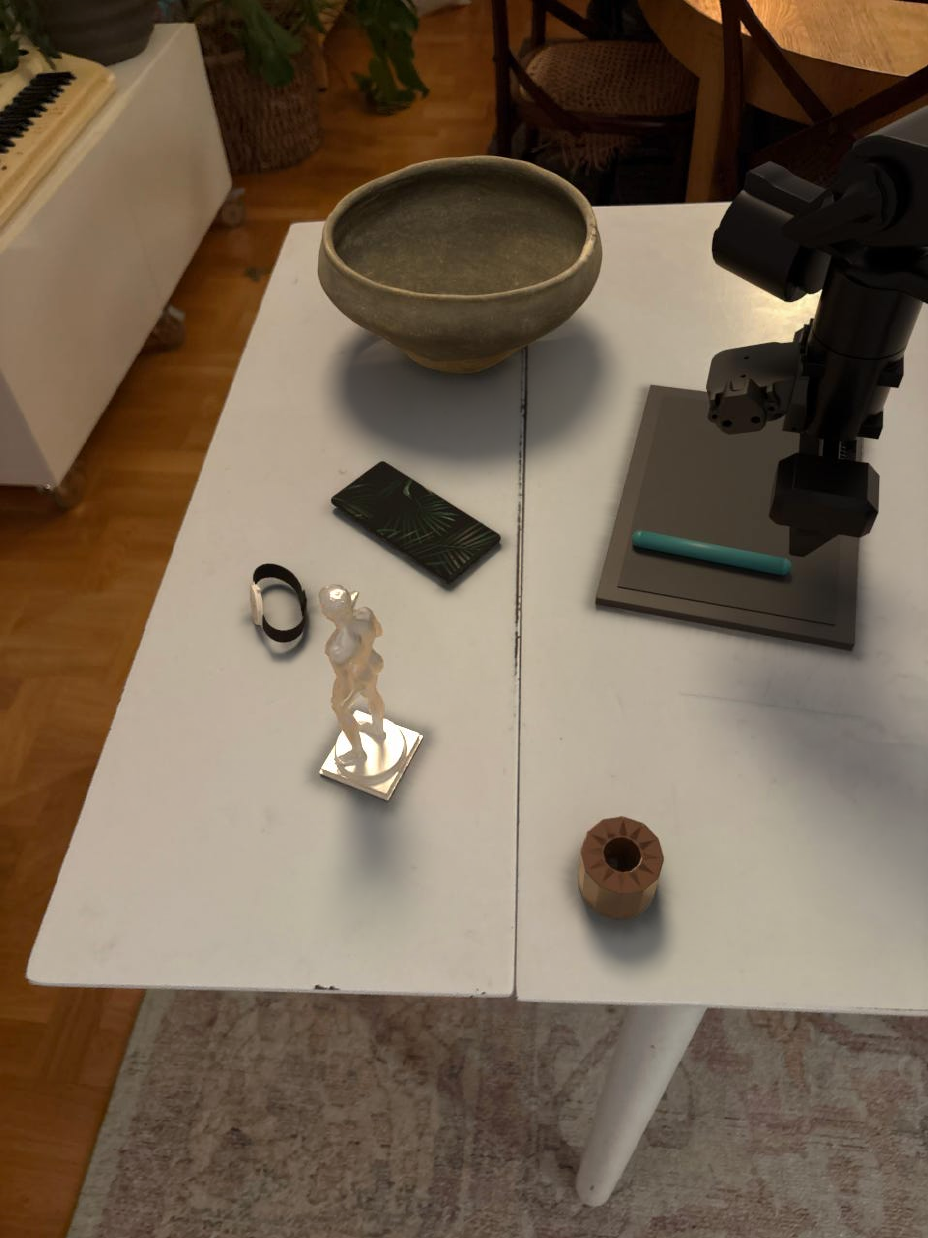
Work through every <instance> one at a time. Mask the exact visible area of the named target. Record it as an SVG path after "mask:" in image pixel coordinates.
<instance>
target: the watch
mask: <svg viewBox="0 0 928 1238" xmlns="http://www.w3.org/2000/svg"><path fill="white" fill-rule="evenodd" d="M270 578H271V579H277V580H280V581H282V582H284V583H286V584H288V586H289V587H290V588H292V589H293V591H294V592H295V594H296V596H297V598H298V602H299V605H300V612H301V616H302V619H301V620H300V622H299V623H298V624H297V625H296V626H294V627H292V628H289V629H283V630H282V629H279V628H276V627H274V626H272V625H270V624H269V623H268V621H267V620H266V617H265V614H264V604H263V599H262V597H263V596H262V593H261V588H260V587H259V585H258V583H259V582H260V581H262V580H263V579H270ZM249 601H250V603H249V604H250V610H251V615H252V618H253V623H254V624H255V625H257V626H258V625H259V626H260V627H261V629H262V630H263V632H264V633H265V635H266V636H267V637H268V638H269V639H270V640H272V641H274V642H276V643H281V644H286V643H291V642H293V641H295V640H296V639H298V638H299V637H300V636H301V635H302V633H303V632H304V630H305V627H306V620H307V619H306V618H307V609H308V608H307V607H308V597H307V594H306V590H305V589H303V588H302V585H301V582H300V581H299V579H298V578H297V576H296V575H295V574H294V572H292V571H291V570H290V569H288V568H287V567H285V566H282V565H280V564H278V563H271V562H270V563H268V562H267V563H262V564H260V565H259V566H257V567H256V568H255V569H254V571H253V574H252V585H250V586H249Z"/></svg>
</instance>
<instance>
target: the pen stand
mask: <svg viewBox="0 0 928 1238" xmlns="http://www.w3.org/2000/svg"><path fill="white" fill-rule="evenodd" d="M664 863H665V856H664V853H663V849H662V845H661V842H660V839H659V837H658V836H657V835H656V834H655V833H654V832H653V831H652V830H651V829H650V827H648V826H647V825H646V824H645V823H644V822H640V821H639V820H635V819H633V818H630V817H627V816H623V815H622V816H615V817H609V818H603V819H601V820H600V821H598V822H597V823H596V824H595V825H593V826H592V827H591V828H589V830H587V831H586V833H585V836H584V839H583V841H582V845H581V847H580V851H579V861H578V872H577V878H578V886H579V890H580V893H581V896H582V897H583V898H582V899H584V901H585V902H586V904H587V905H588V907H590V908H591V909H592V910H593V911H595V912H596V913H597V914H599V915H601V916H603V917H606V918H609V919H613V920H627V919H632V918H634V917H636V916H639V915H641V914H642V913H644V911H645V910H647V909H648V908H649V906H650V905H651V903H652V902H653V900H654V897H655V894H656V890H657V887H658V884H659V880H660V876H661V872H662V870H663V869H662V868H663V865H664Z"/></svg>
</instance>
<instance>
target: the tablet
mask: <svg viewBox="0 0 928 1238" xmlns="http://www.w3.org/2000/svg"><path fill="white" fill-rule="evenodd" d="M709 407H710V402H709V398H708V394H707V391H705V390H697V389H689V388H680V387H672V386H664V385H656V384H650V385H649V389H648V393H647V396H646V401H645V403H644V409H643V411H642V416H641V420H640V425H639V428H638V431H637V435H636V439H635V444H634V447H633V451H632V455H631V460H630V463H629V467H628V471H627V475H626V479H625V482H624V486H623V490H622V494H621V497H620V502H619V505H618V510H617V513H616V518H615V521H614V525H613V527H612V528H613V529H612V531H611V532H612V533H611V538H610V539H609V540H610V541H609V544H608V548H607V552H606V556H605V559H604V564H603V567H602V572H601V576H600V579H599V583H598V586H597V591H596V595H595V601H594V604H595V605H596V606H603V607H608V608H613V609H618V610H625V611H630V612H634V613H635V612H636V613H640V614H647V615H651V616H656V617H662V618H668V619H674V620H677V621H678V620H679V621H684V622H690V623H696V624H701V625H706V626H712V627H715V628H716V627H717V628H723V629H728V630H733V631H738V632H745V633H750V634H755V635H760V636H766V637H772V638H777V639H782V640H788V641H789V640H790V641H793V642H794V641H795V642H799V643H805V644H810V645H816V646H821V647H827V648H831V649H832V648H833V649H836V650H837V649H838V650H843V651H850V652H852V651H853V649H854V647H855V645H856V625H857V623H856V621H857V597H858V596H857V593H858V570H859V569H858V567H859V543H860V542H859V539H860V538H857V537H851V536H845V535H838V536H836V537H834V538H833V539H831V540H830V541H828V542H827V543H825V544H824V545H822V546H820V547H819V548H817V549H816V550H814V551H813V552H811V553H810V554H808V555H807V556H805V557H798V556H792V555H790V554H789V526H783V525H777V524H776V523H774V522H773V521H772V520H771V519H770V518H769V517H768V516H769V508H770V500H771V493H772V487H773V482H774V477H775V473H776V469H777V466H778V462H779V461H780V460H782V459H784V458H786V457H788V456H790V455H792V454H794V453H796V452H797V453H799V440H800V433H793V432H786V431H782V428H783V421H784V418H785V415H784V416H782V417H781V418H779V419H777V420H774V421H768V422H766V425H765V427H764V428H763V429H762V430H760V431H756V432H748V433H740V434H732V435H728V434H726V433H724V432H722V431H721V430H720V428H718V427H717V426H716V425H715V423H713V422H710V421H709V420H708V412H709ZM840 444H841V442H840ZM840 448H841V446H840V447H839V459H840V451H841V450H840ZM862 458H863V437H858V444H857V461H860V462H863V461H862ZM639 530H641V531H647V532H652V533H657V534H662V535H668V536H673V537H678V538H683V539H688V540H693V541H699V542H704V543H709V544H714V545H719V546H724V547H730V548H735V549H740V550H745V551H750V552H755V553H761V554H766V555H771V556H776V557H781V558H786V559H788V560H789V561H790V562H791V565H792V568H791V571H790V572H789V573H788V574H786V575H777V574H772V573H767V572H762V571H757V570H752V569H747V568H742V567H737V566H732V565H727V564H722V563H717V562H712V561H707V560H702V559H697V558H692V557H687V556H682V555H677V554H672V553H666V552H661V551H656V550H651V549H646V548H641V547H637V546H635V545H634V544H633V542H632V535H633V534H634V533H635V532H636V531H639Z"/></svg>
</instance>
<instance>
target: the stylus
mask: <svg viewBox="0 0 928 1238" xmlns="http://www.w3.org/2000/svg"><path fill="white" fill-rule="evenodd" d="M632 542H633V544H634V545H635V546H637V547H641V548H646V549H651V550H656V551H661V552H666V553H672V554H677V555H682V556H687V557H692V558H697V559H702V560H707V561H712V562H717V563H722V564H727V565H732V566H737V567H742V568H747V569H752V570H757V571H762V572H767V573H772V574H777V575H786V574H788V573H789V572H790V571H791V568H792V565H791V562H790V561H789V560H788V559H786V558H781V557H776V556H771V555H766V554H761V553H755V552H750V551H745V550H740V549H735V548H730V547H724V546H719V545H714V544H709V543H704V542H699V541H693V540H688V539H683V538H678V537H673V536H668V535H662V534H657V533H652V532H647V531H641V530H639V531H636V532H635V533H634V534H633V535H632Z"/></svg>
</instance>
